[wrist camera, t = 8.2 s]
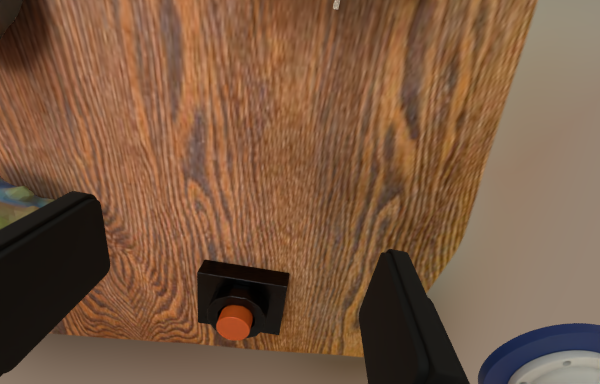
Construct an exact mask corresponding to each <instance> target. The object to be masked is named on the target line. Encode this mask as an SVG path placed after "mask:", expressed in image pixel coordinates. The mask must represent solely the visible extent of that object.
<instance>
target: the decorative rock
mask: <svg viewBox="0 0 600 384" xmlns="http://www.w3.org/2000/svg"><path fill="white" fill-rule="evenodd" d="M54 200H55V199H48V198H41V197H39V196H37V195H35V194H33V192H32V191H30V190H29V189H28V187H26V186H20V187H17V186H14V185H12V184H9V183H8V182H6V181H4V180H3V179H2V178H1V176H0V229H2V228H4V227H5V226H7V225H9V224H11V223H13V222H15V221H17V220H19V219H20V218H22V217H24V216H26V215H28V214H30V213H32V212H34V211H35V210H37V209H39V208H41V207H43V206H45V205H47V204H48V203H50V202H52V201H54Z"/></svg>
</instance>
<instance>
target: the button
mask: <svg viewBox="0 0 600 384" xmlns="http://www.w3.org/2000/svg"><path fill="white" fill-rule="evenodd" d="M252 321H253V315H252V313H251V311H250V310H248V309H247V308H245V307H243V306H239V305H233V304H231V305H228V306H226V307H224V308H223V309H222V311H221V314H220V316H219V319H218V321H217V324H216V328H217V331H218V333H219V334H220V335H221V336H223V337H224V338H227V339H229V340H242V339H244V338H246V337H247V336H248V335H249V333H250V329H251V325H252Z"/></svg>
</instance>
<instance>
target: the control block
mask: <svg viewBox="0 0 600 384" xmlns="http://www.w3.org/2000/svg"><path fill="white" fill-rule="evenodd" d="M288 279H289V273H284V272H278V271H271V270H265V269H259V268H253V267H246V266H240V265H234V264H228V263H221V262H215V261H209V260H204V262H203V264H202V265H201V267H200V269H199V271H198V272H197V282H198V322H199V323H205V324H211V325H212V327H213V328H214V329H215V330H216V331H217V328H216V324H217V321H218V319H219V316H220V314H221V311H222V309H223V308H224V307H226V306H228V305H231V304H233V305H239V306H243V307H245V308H247V309H248V310H250V311H251V313H252V315H253V321H252V325H251V329H250V333H249V335H248V336H247V337H246V338H250V337H254V336H257V335H258V334H259V333H260V332H262V333H268V334H275V335H279V332H280V327H281V321H282V315H283V309H284V303H285V298H286V292H287V286H288ZM244 339H245V338H244Z"/></svg>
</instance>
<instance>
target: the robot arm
mask: <svg viewBox="0 0 600 384" xmlns="http://www.w3.org/2000/svg"><path fill="white" fill-rule="evenodd" d="M109 269H110V259H109V253H108V247H107V240H106V234H105V228H104V222H103V215H102V209H101V204H100V202H99V201H98V200H97V199H96V197H95V196H94V195H92V194H87V193H81V192H76V191H72V192H69V193H67V194H65V195H63V196H62V197H60V198H58V199H56V200H54V201H52V202H50V203H48V204H47V205H45V206H43V207H41V208H39V209H37V210H35V211H34V212H32V213H30V214H28V215H26V216H24V217H22V218H20V219H19V220H17V221H15V222H13V223H11V224H9V225H7V226H5V227H4V228H2V229H0V376H1V375H2V374H3V373H7V372H9V371H11V370H12V369H13V368H14V367H16V366H17V365H18V363H20V362H21V361H22V359H23V358H24V357H25V356H26V355H27V354H28V353H29V352H30V351H31V350H32V349H33V348H34V347H35V346H36V345H37V344H38V343H39V342H40V341H41V340H42V339H43V338H44V337H45V336H46V335H47V334H48V333H49V332H50V331H51V330H52V329H53V328H54V327H55V326H56V325H57V324H58V323H59V322H60V321H61V320H62V319H63V318H64V317H65V316H66V315H67V314H68V313H69V312H70V311H71V310H72V309H73V308H74V307H75V306H76V305H77V304H78V303H79V302H80V301H81V300H82V299H83V298H84V297H85V296H86V295H87V294H88V293H89V292H90V291H91V290H92V289H93V288H94V287H95V286H96V285H97V284H98V283H99V282H100V281H101V280H102V279H103V278H104V277H105V276H106V274H107V273H108V271H109ZM359 323H360V330H361V337H362V343H363V350H364V357H365V364H366V371H367V377H368V384H470V383H469V381H468V379H467V377H466V374H465V372H464V370H463V368H462V366H461V364H460V361H459V359H458V357H457V355H456V353H455V350H454V348H453V346H452V344H451V342H450V339H449V337H448V335H447V333H446V331H445V328H444V326H443V324H442V322H441V320H440V318H439V315H438V313H437V311H436V309H435V307H434V304H433V303H432V301H431V300H430V299H429V298H428V297H427V295H426V293H425V290H424V288H423V286H422V284H421V281H420V279H419V277H418V275H417V272H416V270H415V268H414V266H413V263H412V261H411V259H410V257H409V255H408V253H407V252H403V251H398V250H392V249H389V250H388V251H387V252H386V253H384V252H382V253H381V255H380V257H379V260H378V263H377V265H376V268H375V271H374V273H373V276H372V279H371V281H370V284H369V287H368V289H367V292H366V295H365V297H364V300H363V303H362V306H361V308H360V312H359ZM508 384H600V353H597V352H592V351H586V350H569V351H560V352H555V353H551V354H547V355H544V356H541V357H538V358H536V359H534V360H531V361H530V362H528V363H526V364H524V365H523V366H522V367H520V368H519V369H518V370H517V371H516V372H515V373H514V374H513V375H512V376H511V378H510V380H509V382H508Z"/></svg>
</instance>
